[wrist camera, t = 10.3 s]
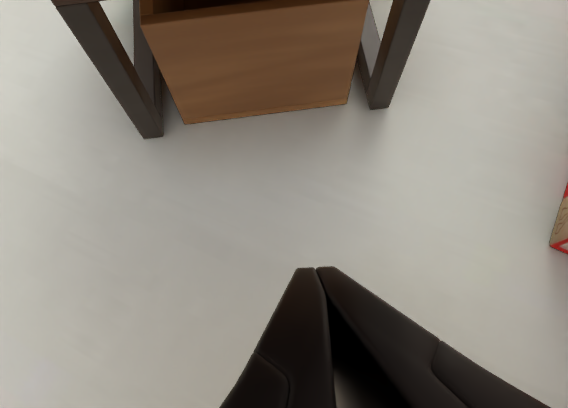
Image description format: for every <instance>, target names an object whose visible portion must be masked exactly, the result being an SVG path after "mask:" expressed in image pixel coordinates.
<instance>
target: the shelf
mask: <svg viewBox="0 0 568 408" xmlns="http://www.w3.org/2000/svg"><path fill="white" fill-rule="evenodd" d="M51 1H52V3H53V4H54V5H55V6H56V9H57V10H58V12H59V13H60V15H61V16H62V18H63V19H64V21H65V22H66V24H67V25H68V27H69V28H70V30H71V31H72V33H73V34H74V36H75V37H76V39H77V40H78V42H79V43H80V45H81V46H82V47H83V49H84V50H85V52H86V53H87V55H88V56H89V58H90V59H91V61H92V62H93V64H94V65H95V67H96V68H97V70H98V71H99V73H100V74H101V76H102V77H103V79H104V80H105V82H106V83H107V85H108V86H109V88H110V89H111V91H112V92H113V94H114V95H115V97H116V98H117V100H118V101H119V103H120V104H121V106H122V107H123V109H124V110H125V112H126V113H127V115H128V116H129V118H130V119H131V121H132V122H133V124H134V125H135V127H136V128H137V130H138V131H139V133H140V134H141V136H142V137H143V138H144V139H146V138H154V137H162V136H163V122H162V99H161V76H160V69H159V67H158V64H157V62H156V60H155V58H154V56H153V53H152V51H151V49H150V47H149V44H148V42H147V40H146V38H145V36H144V33H143V31H142V29H141V27H140V8H139V0H133V26H134V66H133V64H132V63H131V61H130V59H129V57H128V55H127V53H126V51H125V50H124V48H123V46H122V44H121V42H120V40H119V38H118V37H117V35H116V33H115V31H114V29H113V27H112V25H111V24H110V22H109V20H108V18H107V16H106V14H105V12H104V11H103V9H102V7H101V5H100V3H99V1H104V0H51ZM429 3H430V0H393V3H392V6H391V10H390V13H389V17H388V20H387V24H386V27H385V31H384V34H383V38H382V41H381V43H380V39H379V35H378V32H377V28H376V24H375V21H374V17H373V14H372V10H371V6H370V3H369V4H368V8H367V13H366V17H365V22H364V26H363V31H362V36H361V40H360V45H359V49H358V54H357V59H358V63H359V68H360V72H361V76H362V80H363V84H364V88H365V92H366V95H367V99H368V103H369V107H370V109H378V108H386V107H389V105H390V102H391V100H392V97H393V95H394V92H395V89H396V87H397V84H398V82H399V79H400V77H401V74H402V72H403V69H404V67H405V64H406V61H407V59H408V56H409V54H410V51H411V49H412V46H413V44H414V41H415V38H416V36H417V33H418V31H419V28H420V26H421V23H422V21H423V18H424V15H425V13H426V10H427V8H428V5H429Z"/></svg>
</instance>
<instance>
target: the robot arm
mask: <svg viewBox="0 0 568 408" xmlns="http://www.w3.org/2000/svg"><path fill="white" fill-rule="evenodd" d="M219 408H550V407H549V406H547V405H545V404H543V403H542V402H540V401H538V400H536V399H535V398H533V397H531V396H529V395H528V394H526V393H524V392H523V391H521V390H519V389H517V388H516V387H514V386H512V385H510V384H509V383H507V382H505V381H504V380H502V379H500V378H499V377H497V376H495V375H494V374H492V373H490V372H489V371H487V370H485V369H484V368H482V367H481V366H479V365H477V364H476V363H474V362H473V361H471V360H470V359H468V358H467V357H465V356H464V355H462V354H461V353H459V352H458V351H456V350H455V349H453V348H452V347H450V346H449V345H447V344H446V343H445V342H443V341H440V340H439V338H437V337H436V336H434V335H433V334H431V333H430V332H428V331H427V330H425V329H424V328H423V327H421V326H420V325H418V324H417V323H415V322H414V321H412V320H411V319H410V318H408V317H407V316H405V315H404V314H402V313H401V312H399V311H398V310H396V309H395V308H394V307H392V306H391V305H389V304H388V303H386V302H385V301H383V300H382V299H380V298H379V297H378V296H376V295H375V294H373V293H372V292H370V291H369V290H367V289H366V288H365V287H363V286H362V285H360V284H359V283H357V282H356V281H354V280H353V279H351V278H350V277H349V276H347V275H346V274H344V273H343V272H341V271H340V270H338V269H337V268H335V267H333V266H329V267H318V268H316V270H315V268H313V267H309V268H297V269H296V270H295V272H294V274H293V276H292V278H291V280H290V282H289V284H288V286H287V288H286V290H285V292H284V294H283V296H282V297H281V299H280V301H279V303H278V305H277V307H276V309H275V311H274V313H273V315H272V317H271V319H270V321H269V323H268V325H267V327H266V328H265V330H264V332H263V334H262V336H261V338H260V340H259V342H258V344H257V346H256V348H255V350H254V353H253V354H252V355H251V357H250V359H249V361H248V363H247V365H246V367H245V368H244V370H243V372H242V374H241V375H240V377H239V379H238V381H237V382H236V384H235V386H234V387H233V389H232V390H231V391H230V393H229V394H228V396H227V397H226V399H225V400H224V402H223V403H222V405H221V406H220V407H219Z"/></svg>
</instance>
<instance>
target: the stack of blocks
mask: <svg viewBox="0 0 568 408" xmlns="http://www.w3.org/2000/svg"><path fill="white" fill-rule="evenodd" d="M550 246H551V247H553V248H555V249H557V250H560V251H562V252H564V253H567V254H568V184H567V187H566V190H565V194H564V200H563V202H562V203H561V206H560V209H559V212H558V216H557V219H556V223H555V226H554V229H553V233H552V236H551V240H550Z"/></svg>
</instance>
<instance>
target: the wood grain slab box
mask: <svg viewBox="0 0 568 408" xmlns="http://www.w3.org/2000/svg"><path fill="white" fill-rule="evenodd" d="M368 4H369V0H139V8H140V27H141V29H142V31H143V33H144V36H145V38H146V40H147V42H148V44H149V47H150V49H151V51H152V53H153V56H154V58H155V60H156V62H157V64H158V67H159V69H160V71H161V73H162V75H163V78H164V80H165V82H166V84H167V86H168V89H169V91H170V93H171V95H172V98H173V100H174V102H175V104H176V106H177V109H178V111H179V113H180V115H181V117H182V120H183V122H184V124H192V123H199V122H207V121H215V120H223V119H231V118H239V117H246V116H254V115H262V114H270V113H278V112H285V111H293V110H301V109H309V108H317V107H324V106H332V105H340V104H346V103H347V99H348V95H349V90H350V86H351V81H352V76H353V72H354V67H355V63H356V58H357V54H358V49H359V45H360V40H361V36H362V31H363V26H364V22H365V17H366V13H367V8H368Z"/></svg>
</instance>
